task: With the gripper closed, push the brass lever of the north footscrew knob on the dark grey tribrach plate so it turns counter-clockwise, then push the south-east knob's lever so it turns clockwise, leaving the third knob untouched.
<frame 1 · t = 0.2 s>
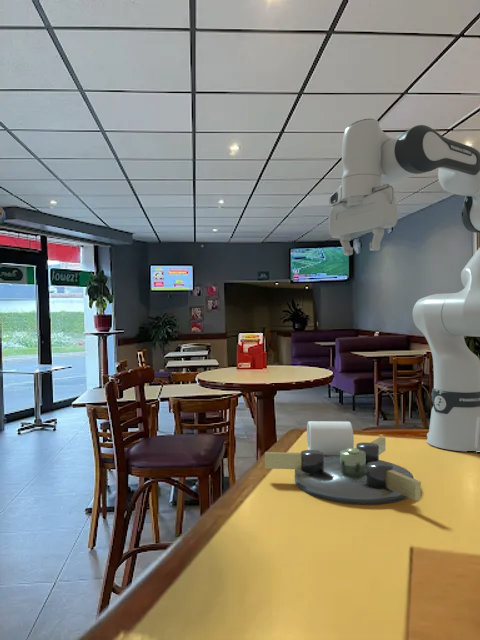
hand: (360, 252, 114), 48 cm above the table, fingers open, 8 cm apart
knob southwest: (373, 449, 108), point 4 cm above the table, hinge at 0.0°
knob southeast: (294, 460, 100), point 4 cm above the table, hinge at 0.0°
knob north: (393, 480, 88), point 4 cm above the table, hinge at 0.0°
mug: (328, 453, 120), on the table
tribrach plate: (352, 482, 99), on the table
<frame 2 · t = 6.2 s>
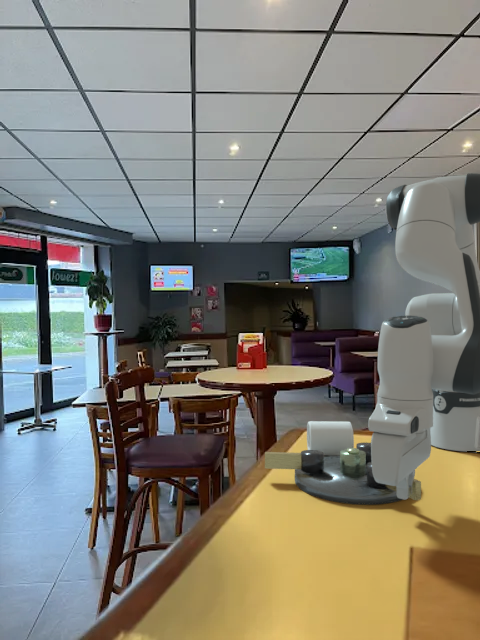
hand: (404, 496, 82), 3 cm above the table, fingers closed
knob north: (393, 480, 88), point 4 cm above the table, hinge at 0.3°, touching gripper
everything else where it was.
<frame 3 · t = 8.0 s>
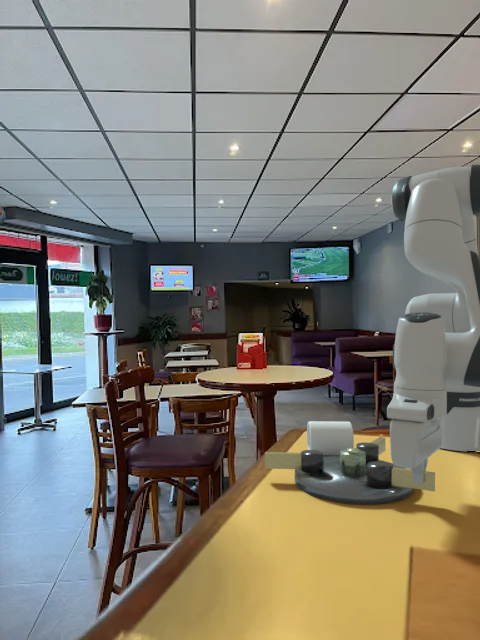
hand: (418, 482, 87), 4 cm above the table, fingers closed, pressing on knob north
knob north: (400, 477, 90), point 4 cm above the table, hinge at 39.6°, touching gripper
everything else where it was.
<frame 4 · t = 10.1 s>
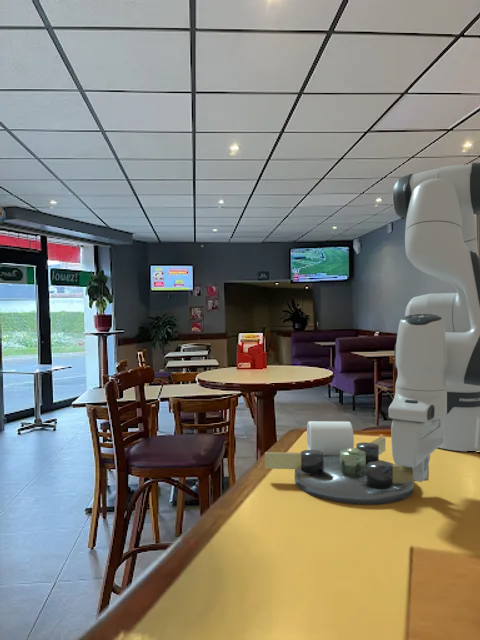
hand: (420, 479, 90), 4 cm above the table, fingers closed
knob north: (397, 473, 92), point 4 cm above the table, hinge at 75.6°
everything else where it was.
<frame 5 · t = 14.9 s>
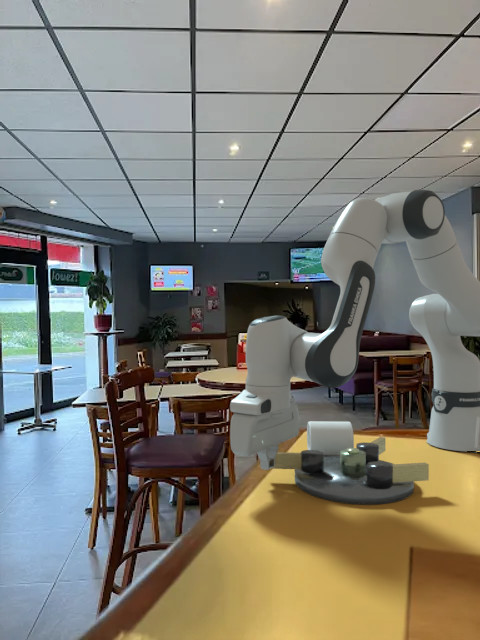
hand: (267, 468, 98), 3 cm above the table, fingers closed
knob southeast: (294, 460, 100), point 4 cm above the table, hinge at -0.1°, touching gripper
everything else where it was.
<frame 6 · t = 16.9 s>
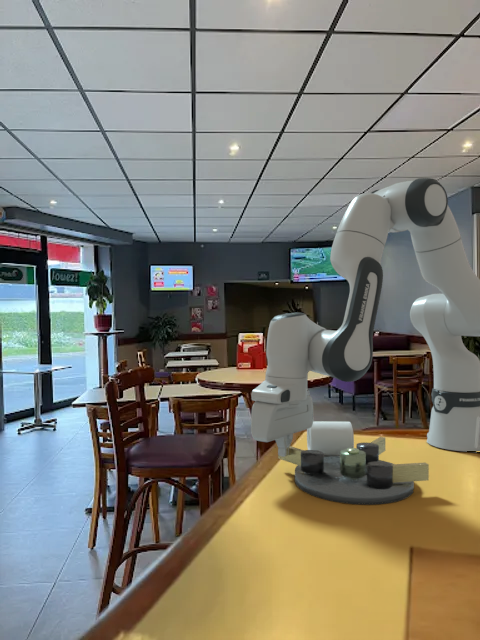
hand: (283, 455, 104), 4 cm above the table, fingers closed
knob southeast: (299, 457, 102), point 4 cm above the table, hinge at -47.1°, touching gripper
everything else where it was.
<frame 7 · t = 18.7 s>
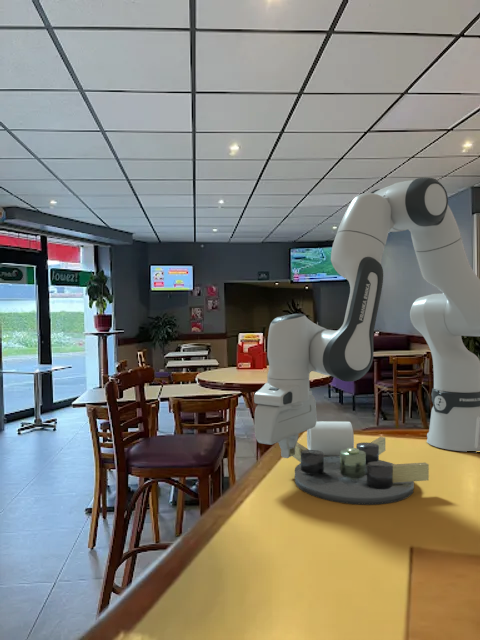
hand: (288, 456, 105), 4 cm above the table, fingers closed
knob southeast: (305, 456, 103), point 4 cm above the table, hinge at -68.9°
everything else where it was.
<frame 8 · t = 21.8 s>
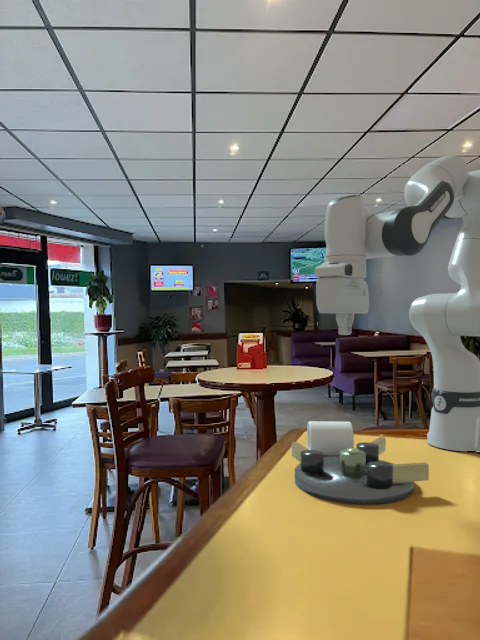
hand: (344, 334, 107), 29 cm above the table, fingers closed
nothing on the table moved.
at the end: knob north at +76° (first picture: +0°); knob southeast at -69° (first picture: +0°) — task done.
